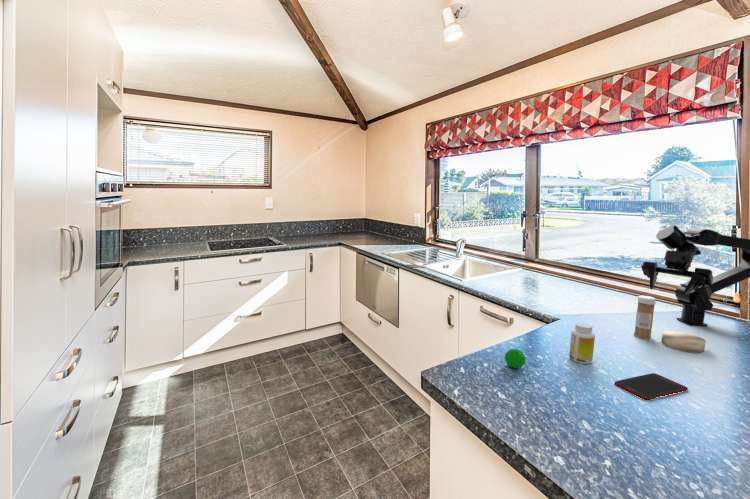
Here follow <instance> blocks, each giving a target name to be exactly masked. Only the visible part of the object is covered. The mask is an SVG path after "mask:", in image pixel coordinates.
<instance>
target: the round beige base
mask: <svg viewBox="0 0 750 499" xmlns="http://www.w3.org/2000/svg"><path fill="white" fill-rule="evenodd" d="M660 342H661V344H662V345H663V346H666V347H667V348H670V349H673V350H675V351H678V352H679V351H680V352H683V353H690V354H704V353H705V350H706V343H707V340H705V339H704V338H702V337H701V336H698V335H695V334H691V333H688V332H684V331H678V330H664V331H662V333H661V341H660Z"/></svg>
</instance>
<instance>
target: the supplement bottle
mask: <svg viewBox="0 0 750 499" xmlns="http://www.w3.org/2000/svg"><path fill="white" fill-rule="evenodd" d="M595 340H596V335H595V333H594V332H593V326H592V325H591V324H589V323H585V322H576V323H575V327H574V328H573V329H572V330H571V334H570V344H569V354H568V356H569V359H570V360H572V361H573V362H575V363H578V364H581V365H582V364H583V365H589V364H591V363H592V362H593V357H594V348H595Z"/></svg>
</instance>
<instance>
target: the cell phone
mask: <svg viewBox="0 0 750 499" xmlns="http://www.w3.org/2000/svg"><path fill="white" fill-rule="evenodd" d="M614 386H615V387H618V388H620V389H621V390H623V391H625V392H626V393H629V394H631V395H633V394H634V395H633V396H635V395H636V396H638V397H640V398H642V399H641V400H643V399H644V400H643V401H645V400H650V401H652V400H651V399H654V398H656V397H660V396H665V395H669V394H673V393H678V392H682V391H686V390H687V391H688V390H689V389H688V387H687V386H686V385H683V384H680V383H678V382H677V381H674V380H672V379H669V378H667V377H665V376H662V375H661V374H658V373H656V372H654V373H653V372H651V373H647V374H646V373H645V374H642V375H638V376H634V377H628V378H624V379H619V380H615V381H614ZM687 391H686V392H687ZM682 393H683V392H682ZM678 394H679V393H678ZM636 396H635V397H636ZM638 397H637V398H638ZM640 398H639V399H640ZM660 398H661V397H660ZM656 399H657V398H656ZM654 400H655V399H654Z"/></svg>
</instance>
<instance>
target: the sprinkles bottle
mask: <svg viewBox="0 0 750 499" xmlns="http://www.w3.org/2000/svg"><path fill="white" fill-rule="evenodd" d="M656 301H657V300H656V297H653V296H649V295H638V296H637V309H636V315H635V323H634V332H633V335H634V336H635V338H636V337H637V338H640V339H644V340H648V339H651V338H652V336H651V335H652V329H653V323H654V310H655V305H656Z"/></svg>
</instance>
